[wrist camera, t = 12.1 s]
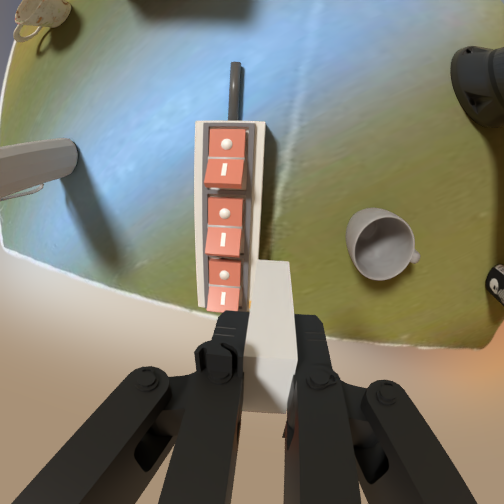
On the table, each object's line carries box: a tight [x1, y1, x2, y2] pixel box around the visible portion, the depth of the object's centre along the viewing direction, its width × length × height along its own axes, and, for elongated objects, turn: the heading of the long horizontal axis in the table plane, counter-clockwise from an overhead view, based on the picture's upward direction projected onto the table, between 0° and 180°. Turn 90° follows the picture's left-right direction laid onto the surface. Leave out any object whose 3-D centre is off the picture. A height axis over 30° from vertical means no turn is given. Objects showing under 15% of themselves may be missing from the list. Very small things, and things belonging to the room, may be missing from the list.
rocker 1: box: [204, 129, 246, 189], centre depth 33 cm, size 8×5×2 cm, turn 177°
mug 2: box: [346, 208, 420, 280], centre depth 37 cm, size 12×9×10 cm
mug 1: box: [13, 0, 71, 42], centre depth 24 cm, size 8×13×10 cm, turn 125°
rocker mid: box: [205, 197, 243, 258], centre depth 37 cm, size 8×5×2 cm, turn 177°
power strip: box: [194, 62, 266, 312], centre depth 38 cm, size 37×9×5 cm, turn 177°
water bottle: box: [0, 138, 78, 201], centre depth 28 cm, size 9×8×25 cm
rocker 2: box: [207, 258, 241, 313], centre depth 40 cm, size 8×5×2 cm, turn 177°
